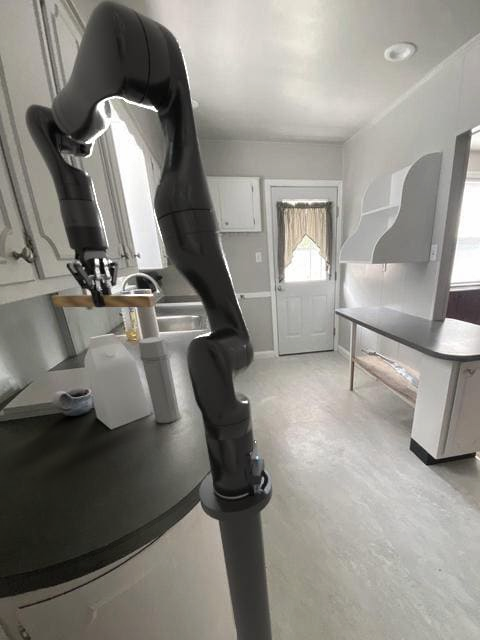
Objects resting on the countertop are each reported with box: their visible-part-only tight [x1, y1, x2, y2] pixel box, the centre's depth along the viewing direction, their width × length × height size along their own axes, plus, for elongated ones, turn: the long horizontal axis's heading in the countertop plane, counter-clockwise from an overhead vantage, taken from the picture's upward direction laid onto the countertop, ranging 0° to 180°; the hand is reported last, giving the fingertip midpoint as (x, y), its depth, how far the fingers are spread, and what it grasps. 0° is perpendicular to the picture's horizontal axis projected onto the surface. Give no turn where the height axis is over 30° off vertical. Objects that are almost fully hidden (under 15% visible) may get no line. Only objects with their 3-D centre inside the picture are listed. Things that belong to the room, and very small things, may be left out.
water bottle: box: [138, 336, 181, 424], centre depth 88 cm, size 9×8×25 cm
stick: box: [51, 294, 157, 308], centre depth 73 cm, size 26×2×3 cm, turn 80°
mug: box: [51, 387, 94, 417], centre depth 96 cm, size 10×12×10 cm
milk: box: [83, 333, 152, 430], centre depth 91 cm, size 12×12×26 cm
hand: (104, 305), depth 73 cm, fingers closed on stick, 2 cm apart
